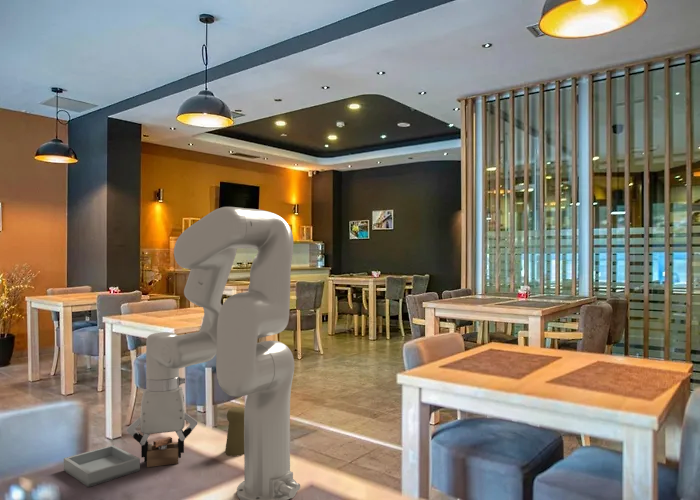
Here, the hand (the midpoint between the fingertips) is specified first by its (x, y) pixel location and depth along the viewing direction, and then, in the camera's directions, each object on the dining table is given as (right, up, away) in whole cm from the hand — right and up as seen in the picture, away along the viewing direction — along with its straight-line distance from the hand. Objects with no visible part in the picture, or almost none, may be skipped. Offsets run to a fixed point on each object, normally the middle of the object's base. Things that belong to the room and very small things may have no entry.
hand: (163, 457), depth 128 cm
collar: (0, -1, 0) cm, 1 cm away
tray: (-13, -1, -5) cm, 13 cm away
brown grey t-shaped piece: (0, -1, 0) cm, 1 cm away
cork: (+17, -1, +7) cm, 18 cm away
